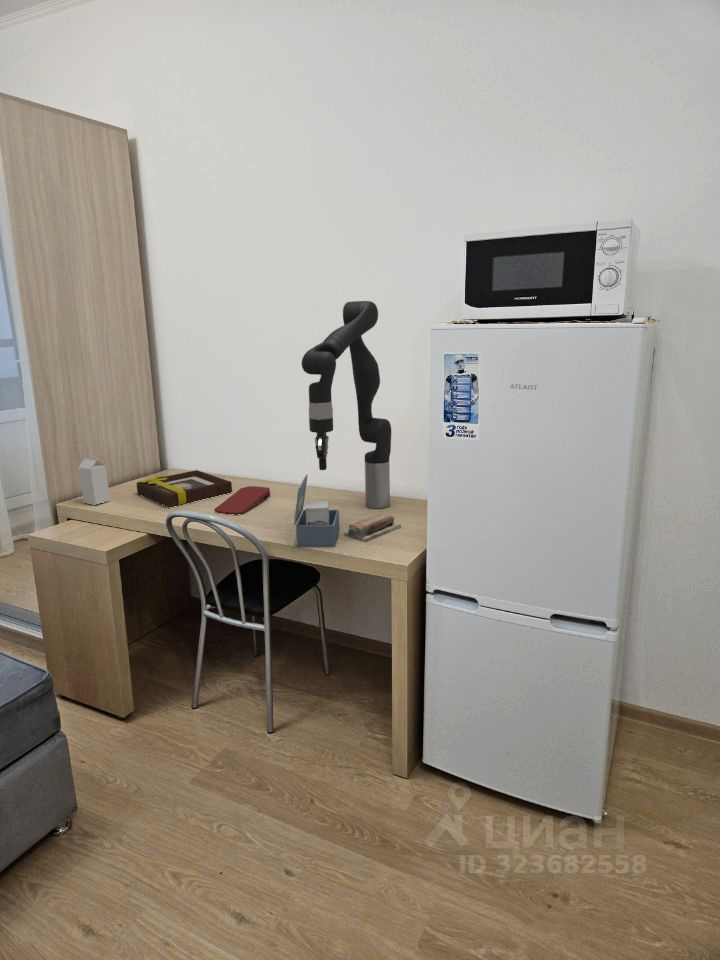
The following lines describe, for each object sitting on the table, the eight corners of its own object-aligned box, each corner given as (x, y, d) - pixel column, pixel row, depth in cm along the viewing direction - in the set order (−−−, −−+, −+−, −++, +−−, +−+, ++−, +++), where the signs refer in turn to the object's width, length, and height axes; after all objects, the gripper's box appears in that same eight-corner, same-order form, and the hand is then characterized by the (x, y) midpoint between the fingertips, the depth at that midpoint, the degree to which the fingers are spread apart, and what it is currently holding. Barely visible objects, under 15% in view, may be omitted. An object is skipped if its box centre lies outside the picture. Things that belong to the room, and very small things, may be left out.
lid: (303, 509, 216) (301, 508, 216) (307, 474, 213) (306, 474, 213) (295, 525, 200) (293, 525, 200) (300, 488, 197) (298, 488, 197)
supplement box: (306, 545, 203) (304, 507, 200) (307, 537, 210) (306, 500, 207) (329, 544, 203) (328, 507, 200) (330, 536, 210) (328, 500, 207)
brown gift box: (167, 493, 242) (134, 479, 264) (169, 509, 244) (136, 494, 265) (232, 479, 260) (196, 466, 282) (233, 494, 262) (197, 481, 284)
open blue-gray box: (304, 529, 218) (303, 509, 216) (339, 529, 217) (338, 509, 215) (297, 546, 202) (296, 525, 200) (334, 546, 201) (334, 525, 200)
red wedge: (242, 525, 235) (274, 496, 256) (240, 513, 233) (273, 485, 254) (214, 522, 239) (248, 494, 260) (212, 510, 237) (247, 483, 258)
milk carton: (95, 506, 249) (89, 459, 244) (83, 504, 253) (76, 457, 248) (110, 501, 255) (104, 455, 250) (98, 499, 259) (92, 453, 254)
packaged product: (365, 529, 203) (342, 522, 210) (365, 543, 205) (343, 536, 211) (401, 515, 216) (379, 509, 223) (401, 528, 217) (379, 522, 224)
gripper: (311, 412, 207) (314, 464, 211) (306, 419, 194) (308, 474, 199) (335, 412, 206) (336, 464, 211) (330, 419, 194) (332, 474, 198)
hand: (323, 469), depth 205 cm, fingers closed
